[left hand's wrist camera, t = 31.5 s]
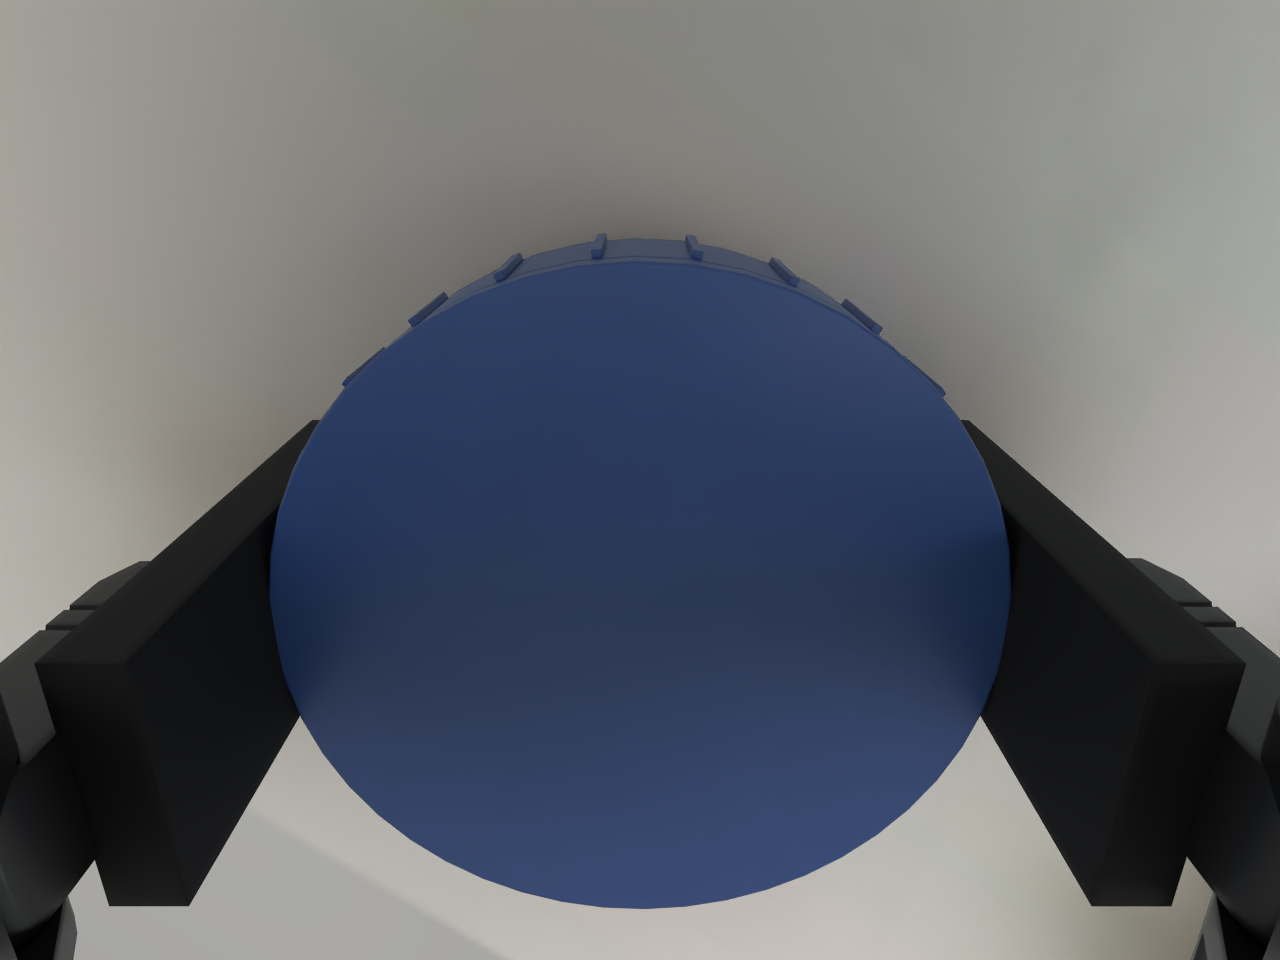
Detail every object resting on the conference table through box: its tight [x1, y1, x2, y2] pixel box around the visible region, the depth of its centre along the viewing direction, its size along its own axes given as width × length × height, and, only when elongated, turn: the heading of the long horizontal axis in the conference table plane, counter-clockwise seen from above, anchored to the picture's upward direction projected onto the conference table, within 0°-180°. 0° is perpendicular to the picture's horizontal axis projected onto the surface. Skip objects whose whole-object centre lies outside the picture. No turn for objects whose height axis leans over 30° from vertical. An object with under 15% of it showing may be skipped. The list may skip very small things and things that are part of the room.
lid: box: [269, 234, 1012, 909], centre depth 11 cm, size 9×9×2 cm
